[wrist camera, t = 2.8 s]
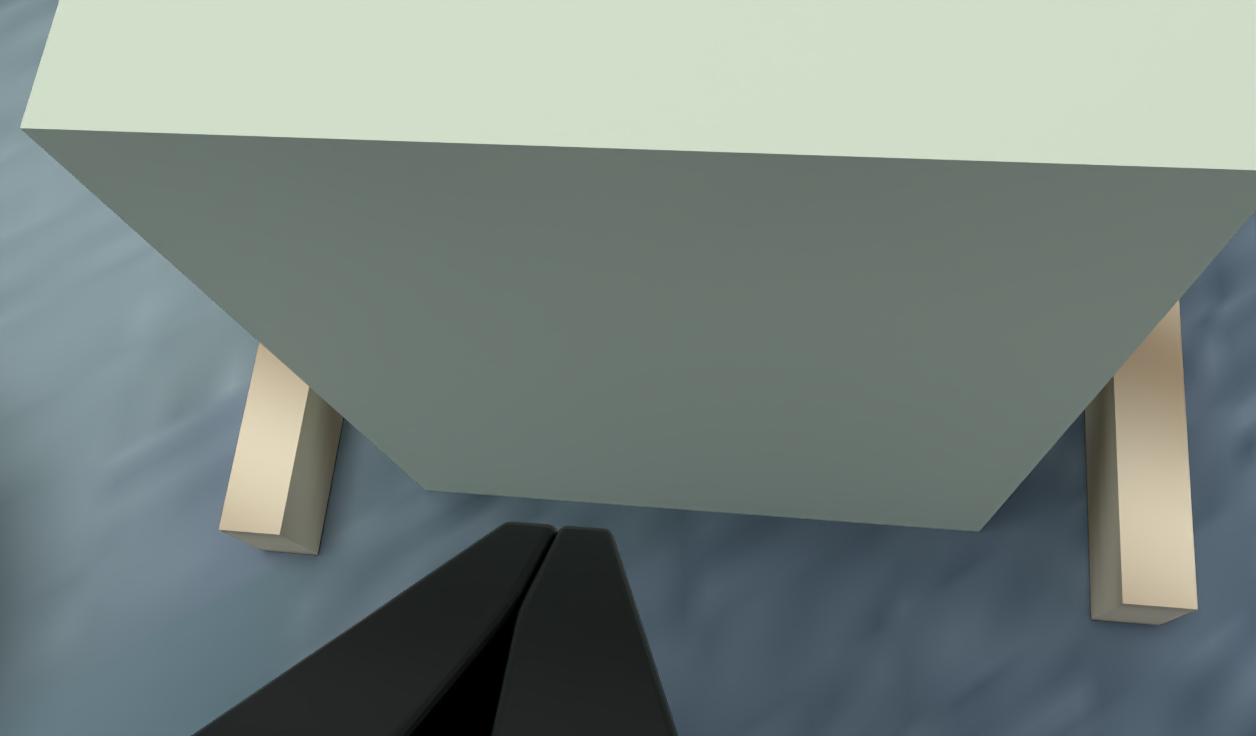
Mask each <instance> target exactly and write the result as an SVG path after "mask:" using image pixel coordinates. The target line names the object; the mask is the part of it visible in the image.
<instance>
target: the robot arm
mask: <svg viewBox="0 0 1256 736" xmlns="http://www.w3.org/2000/svg"><path fill="white" fill-rule="evenodd" d="M191 736H678V734H677V730H676V727H675V724H674V721H673V718H672V715H671V712H670V709H669V706H668V703H667V699H666V696H665V693H664V690H663V687H662V684H661V681H660V678H659V675H658V672H657V668H656V665H655V662H654V659H653V656H652V653H651V650H650V647H649V644H648V641H647V638H646V634H645V631H644V628H643V625H642V622H641V619H640V616H639V613H638V610H637V607H636V603H635V600H634V597H633V594H632V591H631V588H630V585H629V582H628V579H627V576H626V572H625V569H624V566H623V563H622V560H621V557H620V554H619V551H618V548H617V545H616V541H615V538H614V536H613V534H612V533H611V531H609V530H608V529H604V528H591V527H577V526H564V527H562V528H560V530H559V531H557V529H556V528H555V527H554V526H553V525H549V524H537V523H525V522H506V523H504V524H502V525H500V526H499V527H497V528H496V529H495V530H493V531H492V532H490V533H489V534H487V535H486V536H484V537H483V538H481V539H480V540H478V541H477V542H475V543H474V544H472V545H471V546H469V547H468V548H467V549H465V550H464V551H462V552H461V553H459V554H458V555H456V556H455V557H453V558H452V559H450V560H449V561H447V562H446V563H444V564H443V565H442V566H440V567H439V568H437V569H436V570H434V571H433V572H431V573H430V574H428V575H427V576H425V577H424V578H422V579H421V580H419V581H418V582H416V583H415V584H414V585H412V586H411V587H409V588H408V589H406V590H405V591H403V592H402V593H400V594H399V595H397V596H396V597H394V598H393V599H391V600H390V601H389V602H387V603H386V604H384V605H383V606H381V607H380V608H378V609H377V610H375V611H374V612H372V613H371V614H369V615H368V616H366V617H365V618H363V619H362V620H361V621H359V622H358V623H356V624H355V625H353V626H352V627H350V628H349V629H347V630H346V631H344V632H343V633H341V634H340V635H338V636H337V637H336V638H334V639H333V640H331V641H330V642H328V643H327V644H325V645H324V646H322V647H321V648H319V649H318V650H316V651H315V652H313V653H312V654H310V655H309V656H308V657H306V658H305V659H303V660H302V661H300V662H299V663H297V664H296V665H294V666H293V667H291V668H290V669H288V670H287V671H285V672H284V673H283V674H281V675H280V676H278V677H277V678H275V679H274V680H272V681H271V682H269V683H268V684H266V685H265V686H263V687H262V688H260V689H259V690H257V691H256V692H255V693H253V694H252V695H250V696H249V697H247V698H246V699H244V700H243V701H241V702H240V703H238V704H237V705H235V706H234V707H232V708H231V709H230V710H228V711H227V712H225V713H224V714H222V715H221V716H219V717H218V718H216V719H215V720H213V721H212V722H210V723H209V724H207V725H206V726H204V727H203V728H202V729H200V730H199V731H197V732H196V733H194V734H193V735H191Z"/></svg>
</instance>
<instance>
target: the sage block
mask: <svg viewBox="0 0 1256 736" xmlns="http://www.w3.org/2000/svg"><path fill="white" fill-rule="evenodd" d="M20 129H22V130H23V131H24V132H25V133H26V134H27V135H28V136H29V137H30V138H32V139H33V140H34V141H35V142H36V143H37V144H38V145H39V146H41V147H42V148H43V149H44V150H45V151H46V152H47V153H48V154H50V155H51V156H52V157H53V158H54V159H55V160H56V161H57V162H58V163H60V164H61V165H62V166H63V167H64V168H65V169H66V170H67V171H69V172H70V173H71V174H72V175H73V176H74V177H75V178H76V179H77V180H79V181H80V182H81V183H82V184H83V185H84V186H85V187H86V188H88V189H89V190H90V191H91V192H92V193H93V194H94V195H95V196H97V197H98V198H99V199H100V200H101V201H102V202H103V203H104V204H105V205H107V206H108V207H109V208H110V209H111V210H112V211H113V212H114V213H116V214H117V215H118V216H119V217H120V218H121V219H122V220H123V221H124V222H126V223H127V224H128V225H129V226H130V227H131V228H132V229H133V230H135V231H136V232H137V233H138V234H139V235H140V236H141V237H142V238H144V239H145V240H146V241H147V242H148V243H149V244H150V245H151V246H152V247H154V248H155V249H156V250H157V251H158V252H159V253H160V254H161V255H163V256H164V257H165V258H166V259H167V260H168V261H169V262H170V263H172V264H173V265H174V266H175V267H176V268H177V269H178V270H179V271H180V272H182V273H183V274H184V275H185V276H186V277H187V278H188V279H189V280H191V281H192V282H193V283H194V284H195V285H196V286H197V287H198V288H199V289H201V290H202V291H203V292H204V293H205V294H206V295H207V296H208V297H210V298H211V299H212V300H213V301H214V302H215V303H216V304H217V305H219V306H220V307H221V308H222V309H223V310H224V311H225V312H226V313H227V314H229V315H230V316H231V317H232V318H233V319H234V320H235V321H236V322H238V323H239V324H240V325H241V326H242V327H243V328H244V329H245V330H246V331H248V332H249V333H250V334H251V335H252V336H253V337H254V338H255V339H257V340H258V341H259V342H260V343H261V344H262V345H263V346H264V347H266V348H267V349H268V350H269V351H270V352H271V353H272V354H273V355H274V356H276V357H277V358H278V359H279V360H280V361H281V362H282V363H283V364H285V365H286V366H287V367H288V368H289V369H290V370H291V371H292V372H294V373H295V374H296V375H297V376H298V377H299V378H300V379H301V380H302V381H304V382H305V383H306V384H307V385H308V386H309V387H310V388H311V389H313V390H314V391H315V392H316V393H317V394H318V395H319V396H320V397H321V398H323V399H324V400H325V401H326V402H327V403H328V404H329V405H330V406H332V407H333V408H334V409H335V410H336V411H337V412H338V413H339V414H341V415H342V416H343V417H344V418H345V419H346V420H347V421H348V422H349V423H351V424H352V425H353V426H354V427H355V428H356V429H357V430H358V431H360V432H361V433H362V434H363V435H364V436H365V437H366V438H367V439H368V440H370V441H371V442H372V443H373V444H374V445H375V446H376V447H377V448H379V449H380V450H381V451H382V452H383V453H384V454H385V455H386V456H388V457H389V458H390V459H391V460H392V461H393V462H394V463H395V464H396V465H398V466H399V467H400V468H401V469H402V470H403V471H404V472H405V473H407V474H408V475H409V476H410V477H411V478H412V479H413V480H414V481H416V482H417V483H418V484H419V485H420V486H421V487H422V488H423V489H424V490H429V491H442V492H455V493H469V494H482V495H495V496H509V497H522V498H536V499H549V500H562V501H576V502H589V503H602V504H616V505H629V506H642V507H656V508H669V509H682V510H696V511H709V512H723V513H736V514H749V515H763V516H776V517H789V518H803V519H816V520H829V521H843V522H856V523H869V524H883V525H896V526H910V527H923V528H936V529H950V530H963V531H976V532H979V531H980V530H981V529H982V528H983V527H984V526H985V524H986V523H987V522H988V521H989V520H990V519H991V517H992V516H993V515H994V514H995V513H996V512H997V510H998V509H999V508H1000V507H1001V506H1002V505H1003V504H1004V502H1005V501H1006V500H1007V499H1008V498H1009V497H1010V495H1011V494H1012V493H1013V492H1014V491H1015V490H1016V488H1017V487H1018V486H1019V485H1020V484H1021V483H1022V481H1023V480H1024V479H1025V478H1026V477H1027V476H1028V474H1029V473H1030V472H1031V471H1032V470H1033V469H1034V467H1035V466H1036V465H1037V464H1038V463H1039V462H1040V461H1041V459H1042V458H1043V457H1044V456H1045V455H1046V454H1047V452H1048V451H1049V450H1050V449H1051V448H1052V447H1053V445H1054V444H1055V443H1056V442H1057V441H1058V440H1059V438H1060V437H1061V436H1062V435H1063V434H1064V433H1065V431H1066V430H1067V429H1068V428H1069V427H1070V426H1071V425H1072V423H1073V422H1074V421H1075V420H1076V419H1077V418H1078V416H1079V415H1080V414H1081V413H1082V412H1083V411H1084V409H1085V408H1086V407H1087V406H1088V405H1089V404H1090V402H1091V401H1092V400H1093V399H1094V398H1095V397H1096V395H1097V394H1098V393H1099V392H1100V391H1101V390H1102V389H1103V387H1104V386H1105V385H1106V384H1107V383H1108V382H1109V380H1110V379H1111V378H1112V377H1113V376H1114V375H1115V373H1116V372H1117V371H1118V370H1119V369H1120V368H1121V366H1122V365H1123V364H1124V363H1125V362H1126V361H1127V359H1128V358H1129V357H1130V356H1131V355H1132V354H1133V352H1134V351H1135V350H1136V349H1137V348H1138V347H1139V346H1140V344H1141V343H1142V342H1143V341H1144V340H1145V339H1146V337H1147V336H1148V335H1149V334H1150V333H1151V332H1152V330H1153V329H1154V328H1155V327H1156V326H1157V325H1158V323H1159V322H1160V321H1161V320H1162V319H1163V318H1164V316H1165V315H1166V314H1167V313H1168V312H1169V311H1170V310H1171V308H1172V307H1173V306H1174V305H1175V304H1176V303H1177V301H1178V300H1179V299H1180V298H1181V297H1182V296H1183V294H1184V293H1185V292H1186V291H1187V290H1188V289H1189V287H1190V286H1191V285H1192V284H1193V283H1194V282H1195V280H1196V279H1197V278H1198V277H1199V276H1200V275H1201V273H1202V272H1203V271H1204V270H1205V269H1206V268H1207V267H1208V265H1209V264H1210V263H1211V262H1212V261H1213V260H1214V258H1215V257H1216V256H1217V255H1218V254H1219V253H1220V251H1221V250H1222V249H1223V248H1224V247H1225V246H1226V244H1227V243H1228V242H1229V241H1230V240H1231V239H1232V237H1233V236H1234V235H1235V234H1236V233H1237V232H1238V231H1239V229H1240V228H1241V227H1242V226H1243V225H1244V224H1245V222H1246V221H1247V220H1248V219H1249V218H1250V217H1251V215H1252V214H1253V213H1254V212H1255V211H1256V0H59V4H58V7H57V10H56V13H55V17H54V20H53V23H52V26H51V29H50V33H49V36H48V39H47V42H46V46H45V49H44V52H43V55H42V59H41V62H40V65H39V68H38V71H37V75H36V78H35V81H34V84H33V88H32V91H31V94H30V97H29V100H28V104H27V107H26V110H25V113H24V117H23V120H22V123H21V126H20Z"/></svg>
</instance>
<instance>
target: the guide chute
mask: <svg viewBox="0 0 1256 736" xmlns="http://www.w3.org/2000/svg"><path fill="white" fill-rule="evenodd" d="M342 423H343V416H342V415H341V414H339V413H338V412H337V411H336V410H335V409H334V408H333V407H332V406H330V405H329V404H328V403H327V402H326V401H325V400H324V399H323V398H321V397H320V396H319V395H318V394H317V393H316V392H315V391H314V390H313V389H311V388H310V387H309V386H308V385H307V384H306V383H305V382H304V381H302V380H301V379H300V378H299V377H298V376H297V375H296V374H295V373H294V372H292V371H291V370H290V369H289V368H288V367H287V366H286V365H285V364H283V363H282V362H281V361H280V360H279V359H278V358H277V357H276V356H274V355H273V354H272V353H271V352H270V351H269V350H268V349H267V348H266V347H264V346H263V345H262V344H261V343H260V342H259V347H258V351H257V356H256V361H255V365H254V370H253V374H252V379H251V384H250V388H249V393H248V397H247V402H246V407H245V411H244V416H243V420H242V425H241V429H240V434H239V439H238V443H237V448H236V452H235V457H234V462H233V466H232V471H231V475H230V480H229V485H228V489H227V494H226V498H225V503H224V508H223V512H222V517H221V521H220V526H219V530H220V531H222V532H225V533H227V534H229V535H231V536H233V537H235V538H237V539H239V540H241V541H243V542H245V543H248V544H250V545H252V546H254V547H256V548H258V549H260V550H266V551H278V552H290V553H302V554H314V555H318V550H319V545H320V540H321V534H322V529H323V524H324V518H325V513H326V508H327V502H328V497H329V492H330V486H331V481H332V476H333V470H334V465H335V460H336V454H337V449H338V444H339V438H340V433H341V428H342ZM1085 433H1086V466H1087V498H1088V531H1089V564H1090V596H1091V619H1092V620H1104V621H1116V622H1128V623H1140V624H1152V625H1161V624H1163V623H1166V622H1168V621H1171V620H1173V619H1175V618H1178V617H1180V616H1183V615H1185V614H1188V613H1190V612H1193V611H1195V610H1198V607H1197V590H1196V574H1195V557H1194V541H1193V524H1192V508H1191V491H1190V474H1189V458H1188V441H1187V425H1186V408H1185V392H1184V375H1183V359H1182V342H1181V325H1180V309H1179V300H1178V301H1177V303H1176V304H1175V305H1174V306H1173V307H1172V308H1171V310H1170V311H1169V312H1168V313H1167V314H1166V315H1165V316H1164V318H1163V319H1162V320H1161V321H1160V322H1159V323H1158V325H1157V326H1156V327H1155V328H1154V329H1153V330H1152V332H1151V333H1150V334H1149V335H1148V336H1147V337H1146V339H1145V340H1144V341H1143V342H1142V343H1141V344H1140V346H1139V347H1138V348H1137V349H1136V350H1135V351H1134V352H1133V354H1132V355H1131V356H1130V357H1129V358H1128V359H1127V361H1126V362H1125V363H1124V364H1123V365H1122V366H1121V368H1120V369H1119V370H1118V371H1117V372H1116V373H1115V375H1114V376H1113V377H1112V378H1111V379H1110V380H1109V382H1108V383H1107V384H1106V385H1105V386H1104V387H1103V389H1102V390H1101V391H1100V392H1099V393H1098V394H1097V395H1096V397H1095V398H1094V399H1093V400H1092V401H1091V402H1090V404H1089V405H1088V406H1087V407H1086V408H1085Z"/></svg>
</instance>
